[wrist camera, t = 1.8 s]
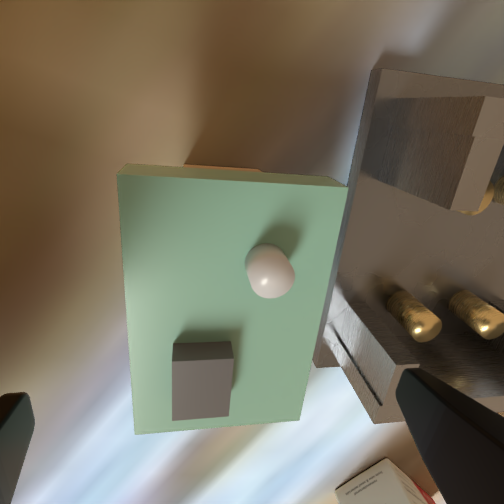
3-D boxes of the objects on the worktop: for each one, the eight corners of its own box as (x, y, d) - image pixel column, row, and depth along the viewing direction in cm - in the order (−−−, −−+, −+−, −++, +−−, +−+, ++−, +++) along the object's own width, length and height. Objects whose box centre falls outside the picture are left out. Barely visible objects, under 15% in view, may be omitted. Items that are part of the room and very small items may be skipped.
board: (288, 389, 14) (307, 444, 12) (140, 400, 13) (129, 463, 11) (327, 176, 10) (366, 196, 8) (127, 163, 9) (107, 183, 7)
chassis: (479, 349, 20) (562, 419, 16) (311, 357, 18) (351, 441, 14) (595, 100, 15) (772, 99, 10) (371, 69, 13) (471, 52, 8)
